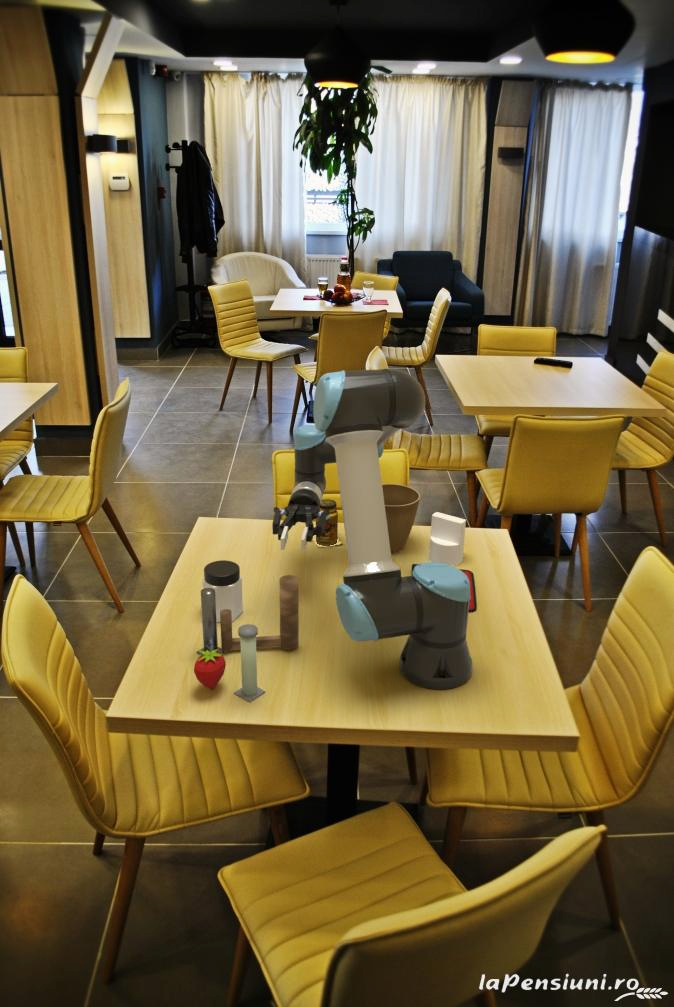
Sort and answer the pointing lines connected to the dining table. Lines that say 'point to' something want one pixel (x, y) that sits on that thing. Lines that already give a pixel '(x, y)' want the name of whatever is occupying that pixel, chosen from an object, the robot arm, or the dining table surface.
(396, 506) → the plant pot
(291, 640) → the brown uneven u-shaped piece
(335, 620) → the dining table surface
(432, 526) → the cylinder with rectangular tab
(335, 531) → the condiment
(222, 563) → the jar
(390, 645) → the dining table surface
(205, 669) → the strawberry
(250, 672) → the post
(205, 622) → the hinge post
